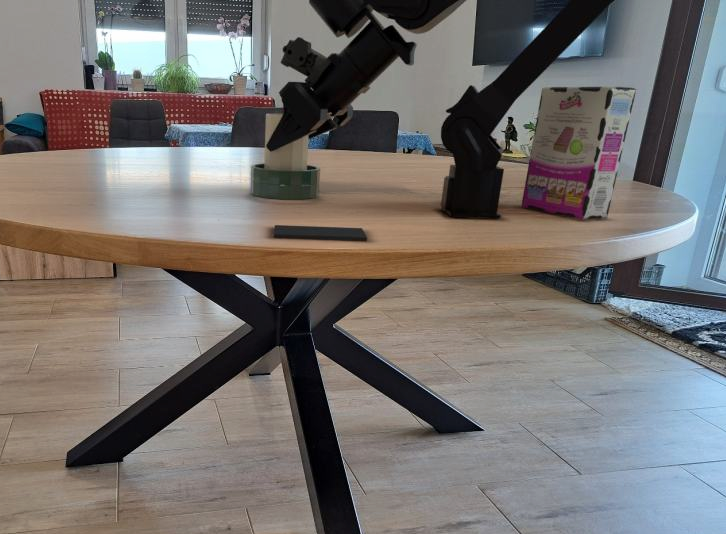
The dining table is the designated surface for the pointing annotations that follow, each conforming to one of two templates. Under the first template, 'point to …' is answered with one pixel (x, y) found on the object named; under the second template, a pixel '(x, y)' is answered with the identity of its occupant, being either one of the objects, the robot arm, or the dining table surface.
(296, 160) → the cup
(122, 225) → the dining table surface
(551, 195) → the candy bar box
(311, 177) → the bowl
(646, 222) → the dining table surface
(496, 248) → the dining table surface
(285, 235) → the mat
